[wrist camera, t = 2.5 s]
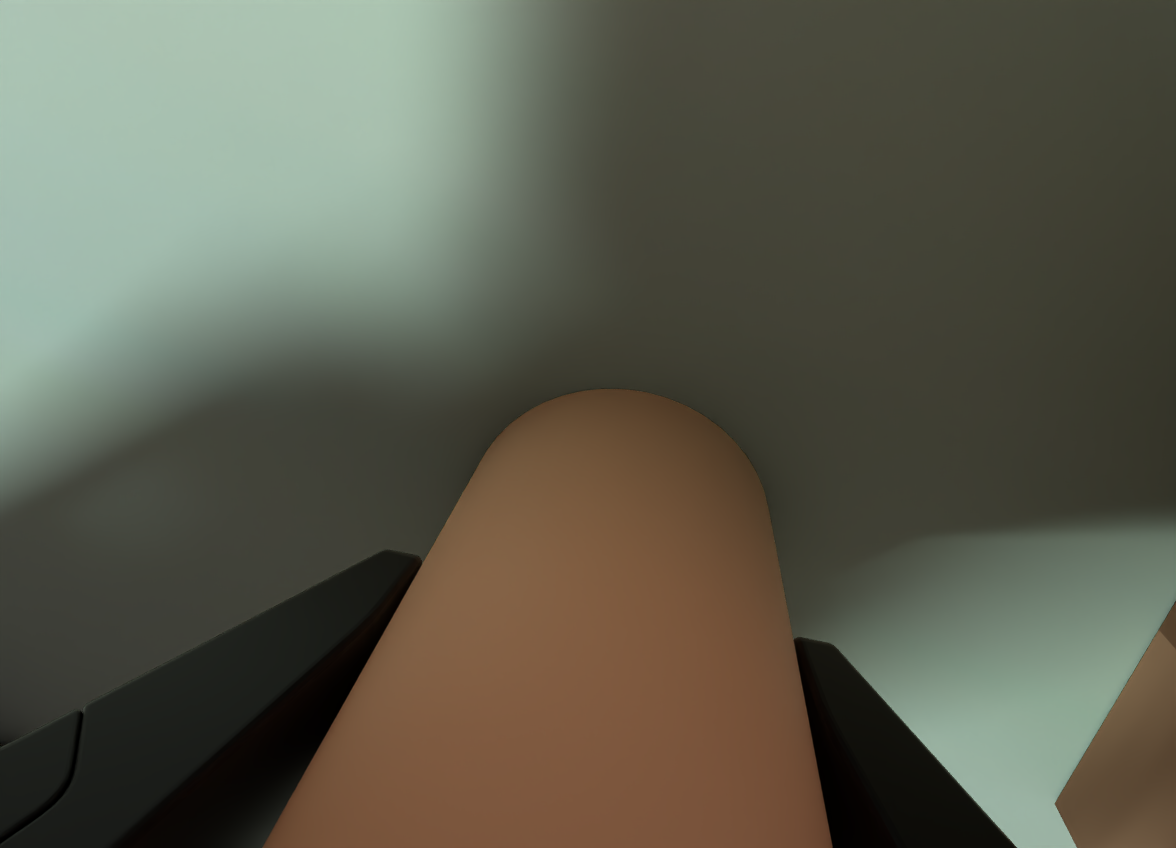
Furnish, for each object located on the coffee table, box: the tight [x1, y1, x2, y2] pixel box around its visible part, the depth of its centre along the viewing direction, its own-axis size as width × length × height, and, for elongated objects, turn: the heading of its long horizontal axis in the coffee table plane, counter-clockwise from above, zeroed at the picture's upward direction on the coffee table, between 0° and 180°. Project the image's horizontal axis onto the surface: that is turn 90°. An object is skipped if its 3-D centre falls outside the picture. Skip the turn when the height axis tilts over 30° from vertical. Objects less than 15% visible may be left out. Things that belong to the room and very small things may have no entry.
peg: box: [262, 389, 833, 848], centre depth 6 cm, size 4×4×8 cm
